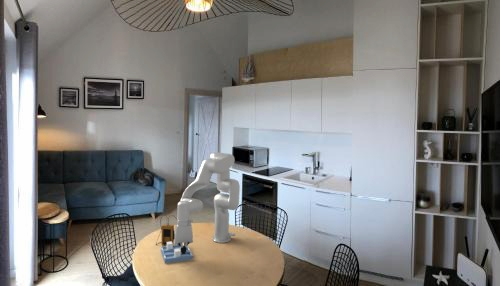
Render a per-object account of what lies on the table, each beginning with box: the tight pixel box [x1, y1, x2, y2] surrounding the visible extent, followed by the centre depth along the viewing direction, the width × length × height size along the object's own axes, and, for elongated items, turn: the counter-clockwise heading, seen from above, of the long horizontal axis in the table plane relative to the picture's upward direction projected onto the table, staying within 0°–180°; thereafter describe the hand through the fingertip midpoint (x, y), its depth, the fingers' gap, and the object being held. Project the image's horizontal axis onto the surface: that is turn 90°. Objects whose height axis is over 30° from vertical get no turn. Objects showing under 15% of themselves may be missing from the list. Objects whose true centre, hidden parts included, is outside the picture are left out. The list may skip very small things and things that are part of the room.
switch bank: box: [160, 244, 194, 264], centre depth 194 cm, size 16×18×3 cm
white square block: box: [174, 248, 181, 257], centre depth 188 cm, size 3×4×4 cm
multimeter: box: [155, 214, 177, 246], centre depth 211 cm, size 15×10×20 cm
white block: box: [166, 241, 174, 250], centre depth 198 cm, size 3×4×4 cm
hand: (183, 253), depth 189 cm, fingers closed
